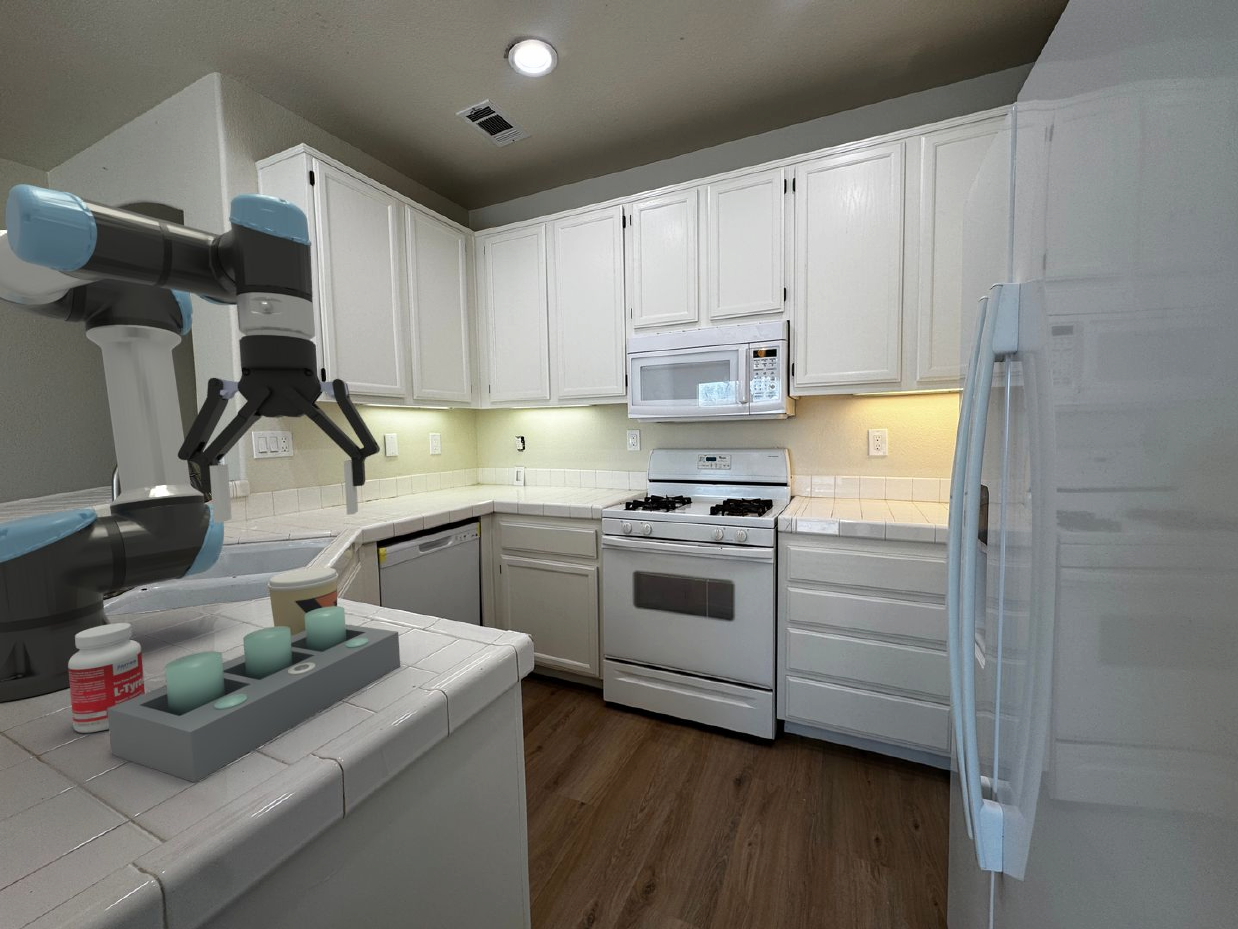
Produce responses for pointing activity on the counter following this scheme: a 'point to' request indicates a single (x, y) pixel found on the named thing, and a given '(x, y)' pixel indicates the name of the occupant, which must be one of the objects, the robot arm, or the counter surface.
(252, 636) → the button
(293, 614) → the coffee cup
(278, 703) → the board
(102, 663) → the pill bottle
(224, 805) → the counter surface
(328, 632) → the button
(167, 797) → the counter surface
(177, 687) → the button
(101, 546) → the robot arm
